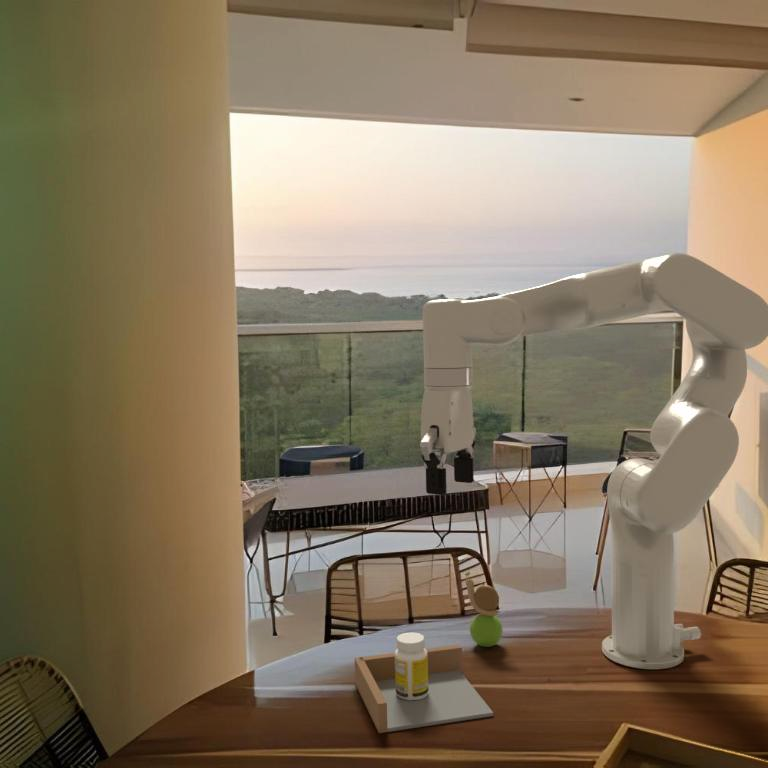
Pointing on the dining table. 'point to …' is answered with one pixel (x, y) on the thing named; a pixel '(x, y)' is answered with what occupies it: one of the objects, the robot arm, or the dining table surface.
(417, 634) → the supplement bottle
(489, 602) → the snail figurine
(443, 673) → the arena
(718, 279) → the robot arm
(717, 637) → the dining table surface
